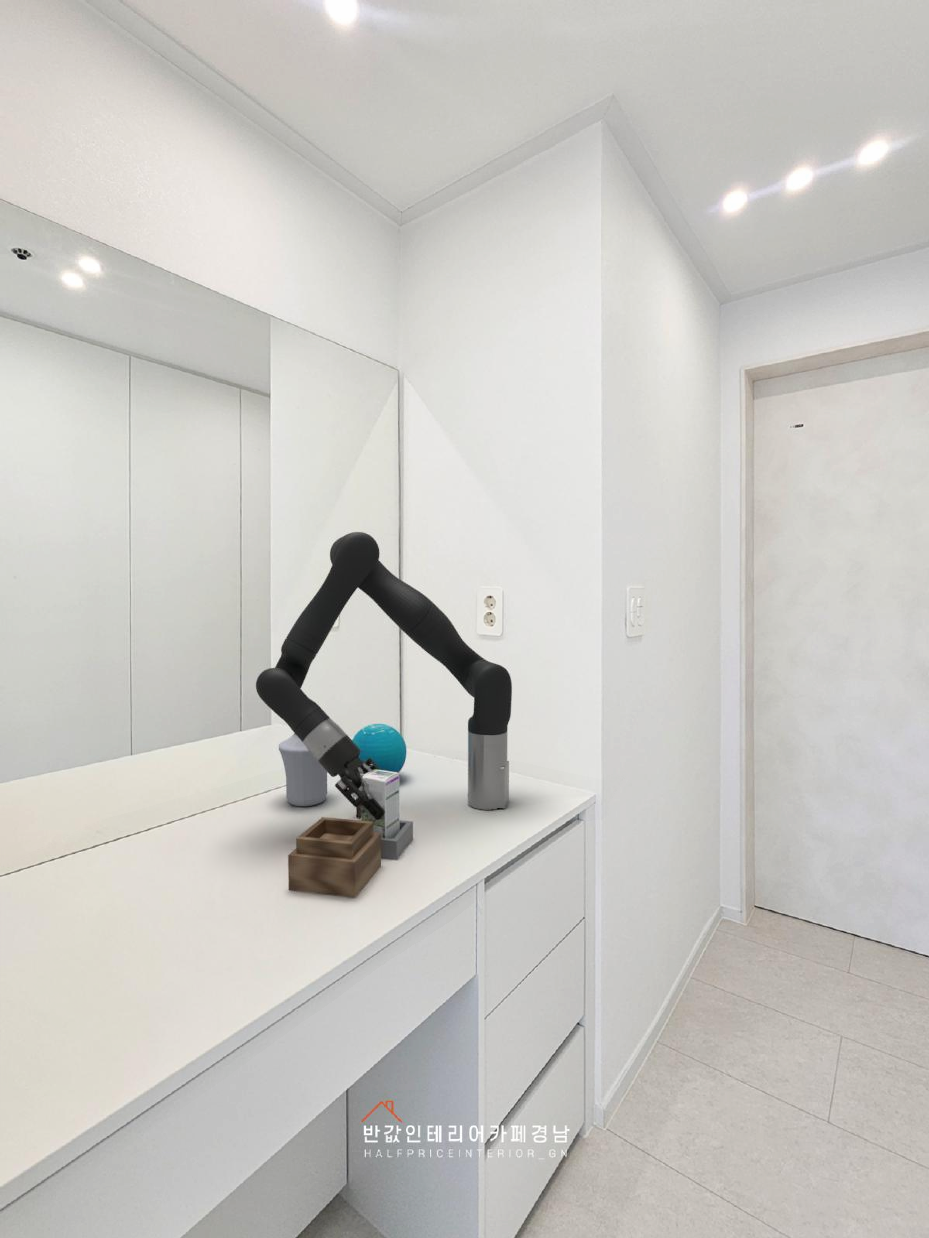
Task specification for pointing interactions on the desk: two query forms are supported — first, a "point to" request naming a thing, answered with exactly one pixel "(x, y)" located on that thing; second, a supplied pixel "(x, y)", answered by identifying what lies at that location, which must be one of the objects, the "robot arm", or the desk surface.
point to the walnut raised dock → (335, 857)
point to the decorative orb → (381, 746)
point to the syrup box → (384, 801)
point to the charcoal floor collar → (397, 841)
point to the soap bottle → (302, 774)
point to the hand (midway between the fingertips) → (388, 809)
